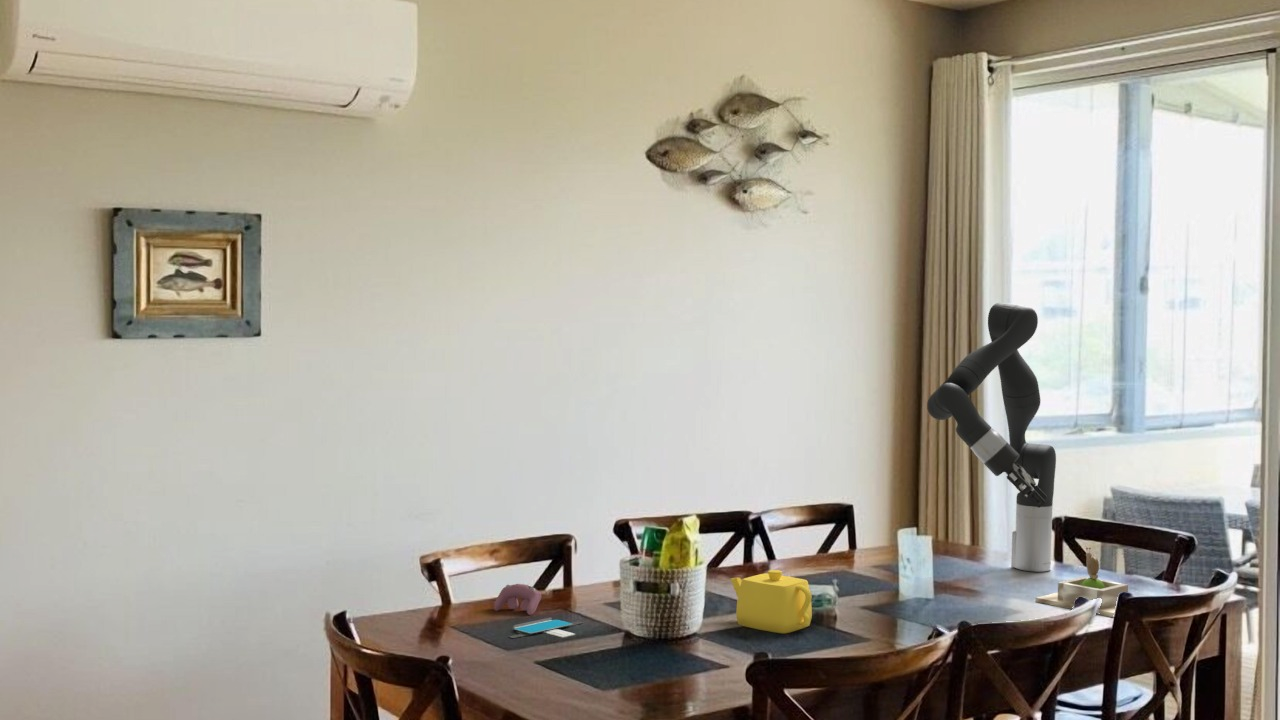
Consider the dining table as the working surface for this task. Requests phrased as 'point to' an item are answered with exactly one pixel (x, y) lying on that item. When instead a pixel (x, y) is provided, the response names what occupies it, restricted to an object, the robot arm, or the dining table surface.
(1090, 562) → the snail figurine
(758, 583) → the teapot
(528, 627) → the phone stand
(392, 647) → the dining table surface
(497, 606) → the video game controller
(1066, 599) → the wooden box tray
